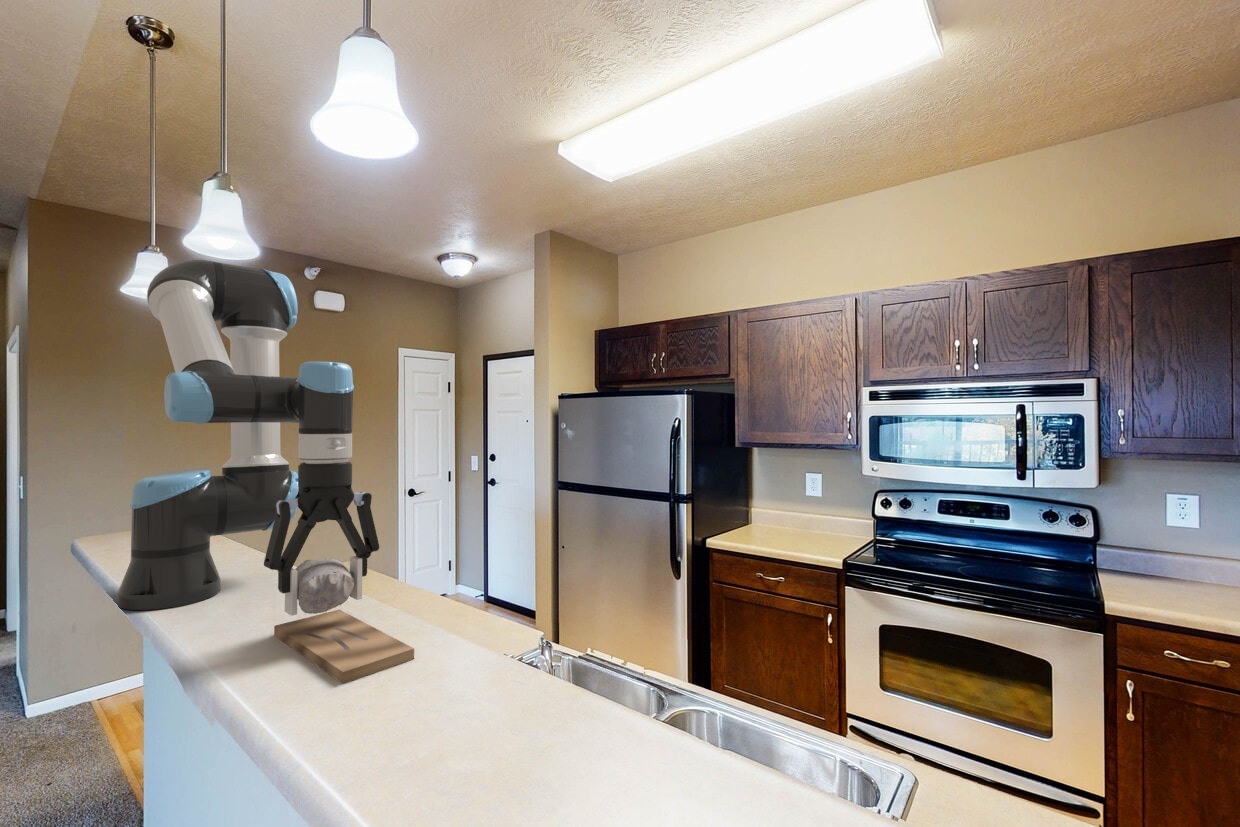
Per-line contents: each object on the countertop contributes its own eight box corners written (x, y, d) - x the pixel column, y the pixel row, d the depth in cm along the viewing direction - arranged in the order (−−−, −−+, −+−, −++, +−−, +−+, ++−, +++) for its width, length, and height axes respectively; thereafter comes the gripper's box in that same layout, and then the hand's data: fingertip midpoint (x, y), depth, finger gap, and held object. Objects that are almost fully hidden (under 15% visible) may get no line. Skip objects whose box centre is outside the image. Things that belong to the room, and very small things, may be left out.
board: (274, 635, 90) (274, 625, 90) (339, 618, 97) (339, 609, 97) (342, 683, 74) (343, 671, 74) (414, 658, 82) (414, 648, 82)
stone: (300, 622, 82) (301, 574, 82) (290, 600, 92) (290, 557, 92) (360, 612, 87) (360, 566, 87) (344, 592, 97) (345, 551, 97)
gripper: (255, 466, 79) (254, 630, 79) (403, 458, 95) (402, 593, 95) (237, 463, 84) (236, 617, 83) (381, 456, 100) (380, 585, 100)
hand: (324, 604), depth 89 cm, fingers closed on stone, 9 cm apart
